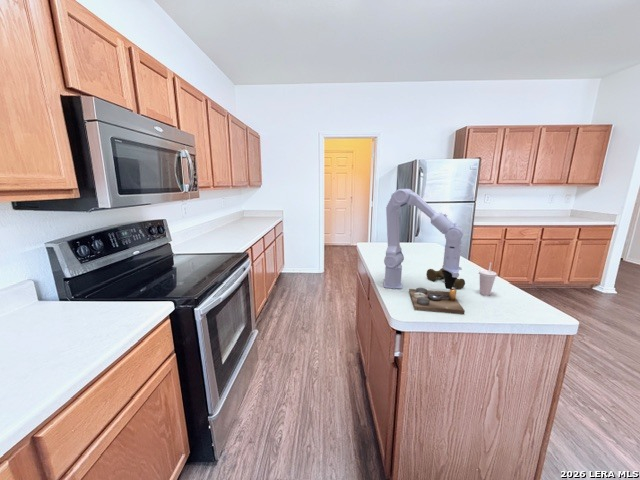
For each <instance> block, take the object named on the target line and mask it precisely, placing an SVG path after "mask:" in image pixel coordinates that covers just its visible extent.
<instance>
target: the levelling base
mask: <svg viewBox="0 0 640 480" xmlns="http://www.w3.org/2000/svg"><path fill="white" fill-rule="evenodd" d="M408 293H409V294H408V295H409V297H410V299H411V300H410V301H411V303H412V305H413V309H414V311H422V312H431V313H432V312H433V313H445V314H455V315H465V312H466V311H465V309H464V308H463V306H462V305H461V303H460V302H459V300H458V299H457V298H456V300H455V301H452V300H449V299H445V298H441V300H439V301H435V300H431V299H429V298H428V293H438V294H440V295H447V296H449V291H443V290H432V289H431V290H429V289H426V288H424V287H417V288H416V287H415V288H409V289H408Z"/></svg>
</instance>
